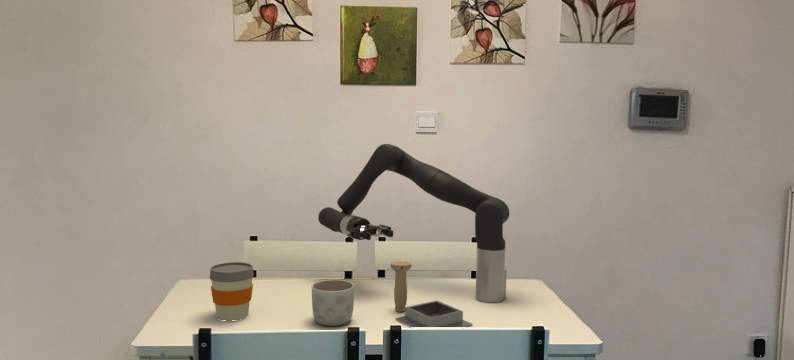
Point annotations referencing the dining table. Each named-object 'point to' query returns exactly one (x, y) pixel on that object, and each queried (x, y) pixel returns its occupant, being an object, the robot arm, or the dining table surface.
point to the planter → (332, 302)
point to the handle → (400, 284)
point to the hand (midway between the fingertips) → (381, 235)
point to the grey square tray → (433, 316)
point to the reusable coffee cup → (231, 289)
